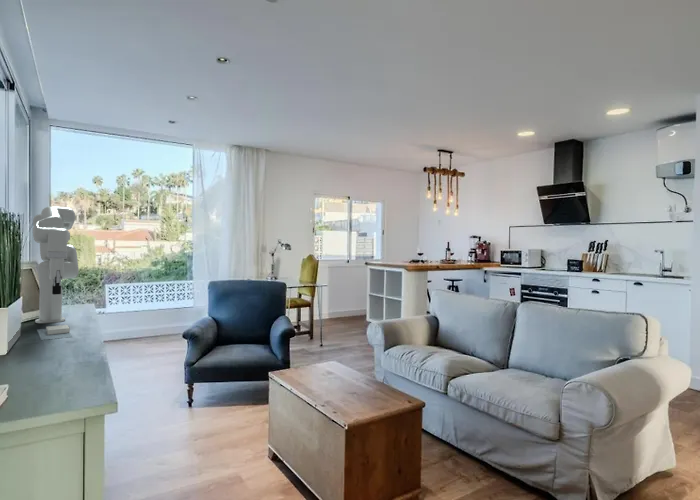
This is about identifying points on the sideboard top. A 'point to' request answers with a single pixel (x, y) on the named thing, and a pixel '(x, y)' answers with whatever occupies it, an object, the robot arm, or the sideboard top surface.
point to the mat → (52, 335)
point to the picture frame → (57, 329)
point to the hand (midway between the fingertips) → (56, 294)
